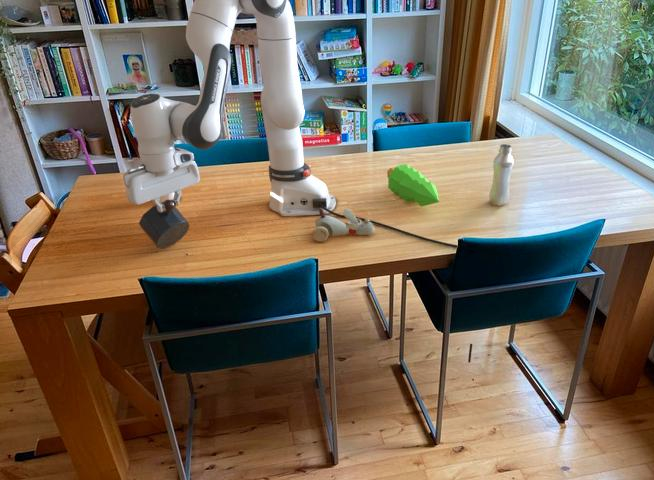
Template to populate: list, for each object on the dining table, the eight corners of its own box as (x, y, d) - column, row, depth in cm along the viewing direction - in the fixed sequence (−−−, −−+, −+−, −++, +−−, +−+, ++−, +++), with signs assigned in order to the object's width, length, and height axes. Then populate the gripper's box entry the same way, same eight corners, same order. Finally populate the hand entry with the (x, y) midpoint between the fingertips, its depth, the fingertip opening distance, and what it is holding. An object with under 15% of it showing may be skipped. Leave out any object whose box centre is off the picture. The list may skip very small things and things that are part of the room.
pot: (137, 233, 158) (141, 199, 145) (171, 218, 165) (177, 183, 152) (154, 253, 157) (160, 221, 144) (187, 237, 164) (195, 204, 151)
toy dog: (377, 237, 165) (377, 210, 161) (319, 249, 159) (317, 222, 154) (361, 220, 175) (361, 194, 170) (305, 231, 169) (304, 205, 164)
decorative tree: (399, 152, 193) (448, 178, 169) (409, 178, 200) (457, 207, 176) (373, 169, 191) (418, 197, 168) (384, 195, 198) (429, 226, 175)
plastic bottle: (509, 201, 186) (518, 144, 176) (505, 209, 181) (513, 150, 170) (491, 198, 189) (498, 141, 178) (486, 205, 183) (493, 148, 173)
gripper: (128, 174, 134) (140, 225, 141) (198, 152, 147) (206, 199, 154) (115, 168, 138) (128, 218, 145) (184, 147, 151) (193, 193, 158)
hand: (169, 208), depth 150 cm, fingers closed on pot, 3 cm apart
